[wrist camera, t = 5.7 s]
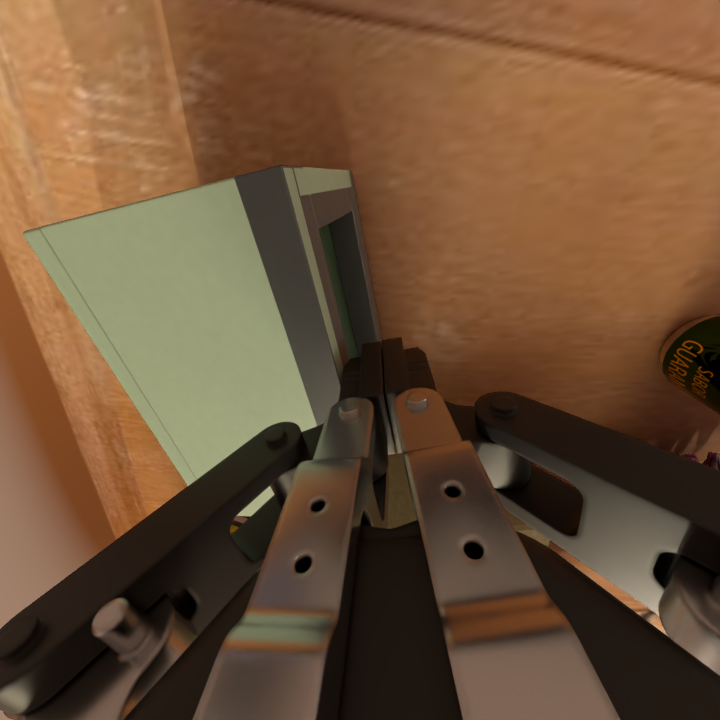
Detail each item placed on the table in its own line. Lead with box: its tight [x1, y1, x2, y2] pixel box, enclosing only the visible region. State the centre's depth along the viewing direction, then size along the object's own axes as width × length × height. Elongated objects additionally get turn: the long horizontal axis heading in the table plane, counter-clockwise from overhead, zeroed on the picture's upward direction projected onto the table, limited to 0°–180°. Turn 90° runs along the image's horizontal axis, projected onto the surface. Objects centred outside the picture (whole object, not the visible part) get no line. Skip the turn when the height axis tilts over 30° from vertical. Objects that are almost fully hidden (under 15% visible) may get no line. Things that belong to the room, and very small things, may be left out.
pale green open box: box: [23, 165, 383, 516], centre depth 16 cm, size 14×9×10 cm, turn 11°
